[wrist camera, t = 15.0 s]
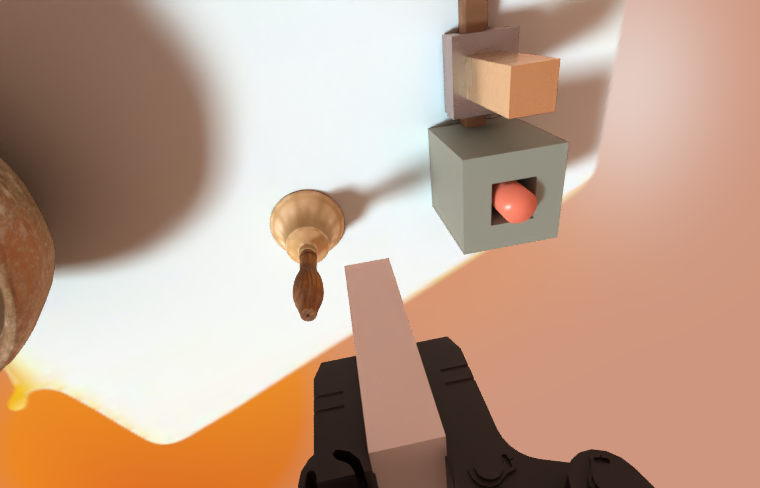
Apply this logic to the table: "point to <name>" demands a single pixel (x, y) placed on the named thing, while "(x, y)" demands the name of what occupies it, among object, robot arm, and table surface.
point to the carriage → (496, 75)
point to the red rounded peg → (513, 201)
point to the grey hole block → (495, 180)
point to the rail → (470, 20)
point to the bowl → (21, 264)
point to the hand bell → (307, 241)
